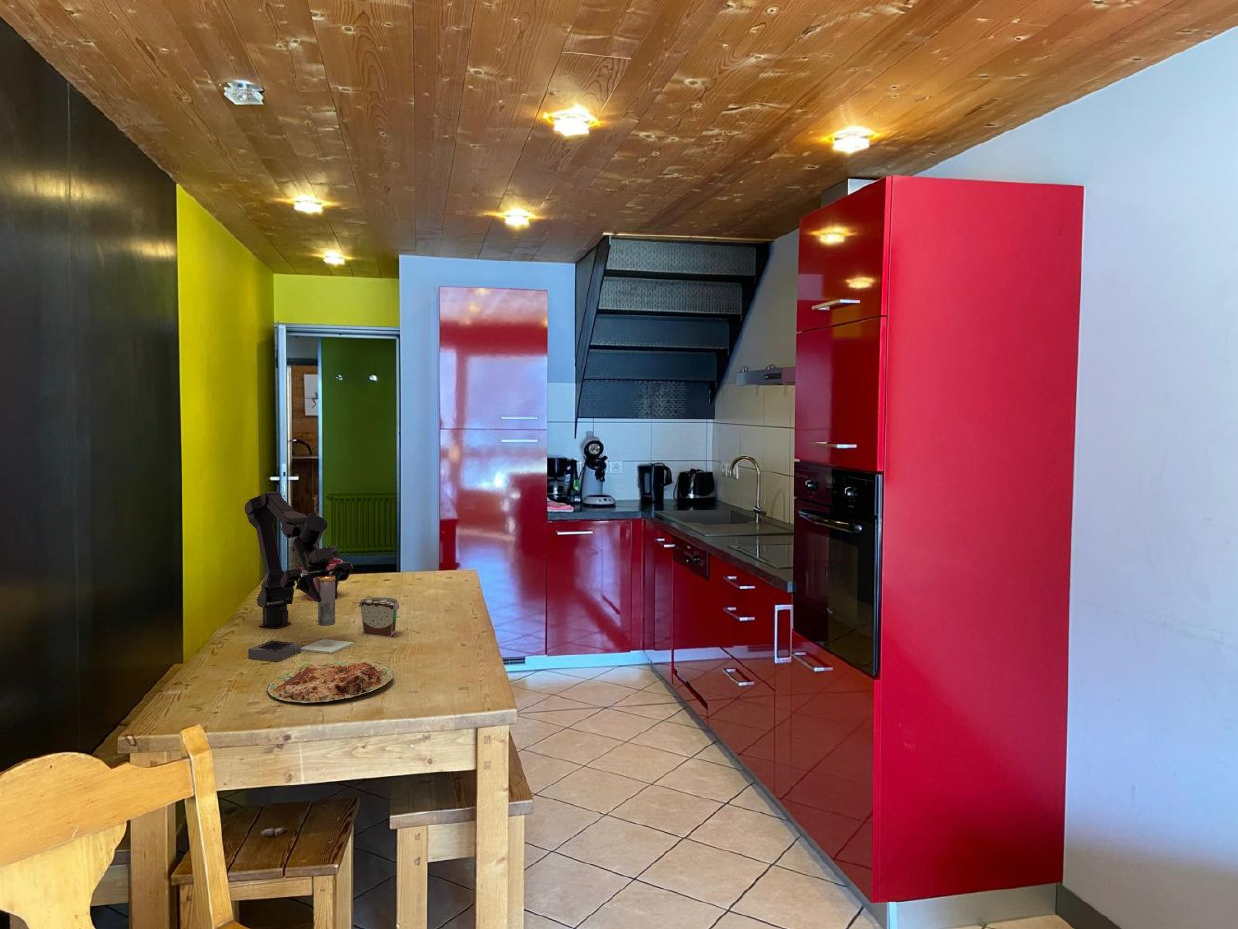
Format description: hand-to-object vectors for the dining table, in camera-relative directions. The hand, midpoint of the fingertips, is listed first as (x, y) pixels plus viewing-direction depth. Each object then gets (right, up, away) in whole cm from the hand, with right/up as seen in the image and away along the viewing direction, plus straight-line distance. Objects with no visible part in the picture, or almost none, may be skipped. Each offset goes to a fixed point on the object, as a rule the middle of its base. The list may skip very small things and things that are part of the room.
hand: (327, 600), depth 229 cm
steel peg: (-1, -7, +1) cm, 7 cm away
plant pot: (-23, -9, +63) cm, 68 cm away
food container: (+10, -13, +17) cm, 23 cm away
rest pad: (-1, -13, +1) cm, 13 cm away
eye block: (-11, -13, -7) cm, 19 cm away
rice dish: (+11, -16, -31) cm, 36 cm away
